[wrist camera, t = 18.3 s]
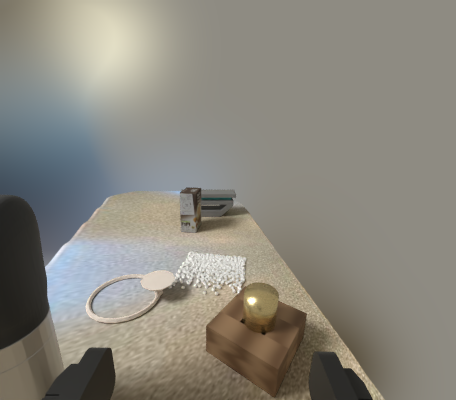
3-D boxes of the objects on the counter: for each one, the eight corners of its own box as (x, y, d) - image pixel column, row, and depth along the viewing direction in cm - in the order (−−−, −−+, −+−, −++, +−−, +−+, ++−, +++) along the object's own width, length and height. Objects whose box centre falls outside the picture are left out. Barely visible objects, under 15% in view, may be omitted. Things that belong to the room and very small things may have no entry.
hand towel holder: (97, 266, 64) (175, 260, 68) (99, 280, 66) (176, 273, 69) (69, 313, 48) (174, 301, 52) (73, 330, 50) (175, 317, 53)
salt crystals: (247, 260, 78) (248, 255, 78) (243, 300, 60) (243, 295, 59) (188, 254, 81) (188, 249, 80) (165, 291, 62) (165, 285, 62)
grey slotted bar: (181, 217, 110) (180, 194, 107) (182, 211, 118) (181, 189, 114) (235, 216, 113) (235, 194, 110) (233, 210, 120) (233, 189, 117)
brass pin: (235, 345, 46) (237, 295, 43) (251, 324, 51) (254, 278, 48) (264, 363, 43) (269, 310, 40) (278, 339, 48) (284, 290, 44)
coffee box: (196, 233, 94) (195, 193, 90) (180, 231, 95) (179, 192, 90) (201, 224, 103) (201, 187, 98) (187, 222, 104) (186, 186, 99)
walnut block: (206, 350, 46) (206, 325, 44) (244, 307, 57) (245, 286, 55) (274, 397, 38) (278, 369, 36) (303, 337, 49) (306, 313, 47)
